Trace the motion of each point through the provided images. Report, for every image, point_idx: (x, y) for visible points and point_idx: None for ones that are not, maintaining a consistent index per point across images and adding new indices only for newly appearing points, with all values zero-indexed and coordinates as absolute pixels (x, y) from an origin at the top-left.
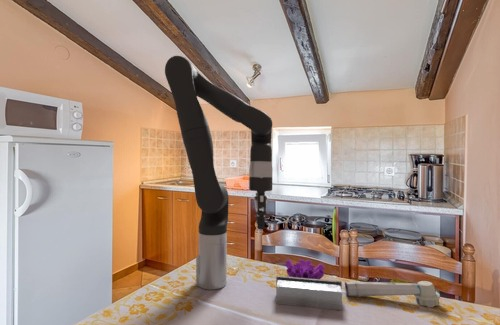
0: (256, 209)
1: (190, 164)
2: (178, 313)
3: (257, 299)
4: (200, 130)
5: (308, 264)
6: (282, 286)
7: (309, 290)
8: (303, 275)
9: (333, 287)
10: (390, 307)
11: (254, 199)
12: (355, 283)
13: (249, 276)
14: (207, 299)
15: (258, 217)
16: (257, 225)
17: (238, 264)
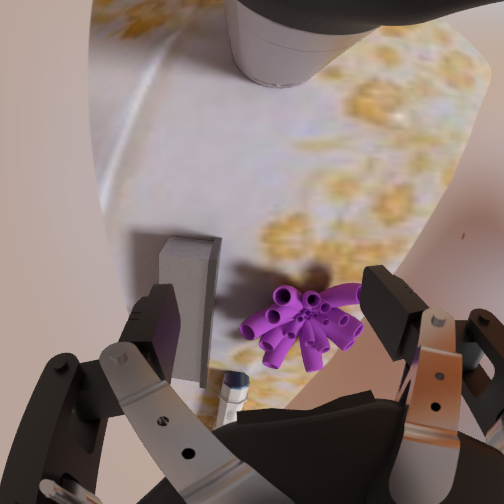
0: (139, 392)
1: None
2: (113, 21)
3: (186, 187)
4: None
5: (336, 341)
6: (160, 269)
7: None
8: (260, 324)
9: (182, 369)
10: (198, 406)
11: (390, 470)
12: (230, 400)
13: (338, 160)
14: (176, 55)
15: (134, 345)
16: (152, 294)
17: (424, 131)
